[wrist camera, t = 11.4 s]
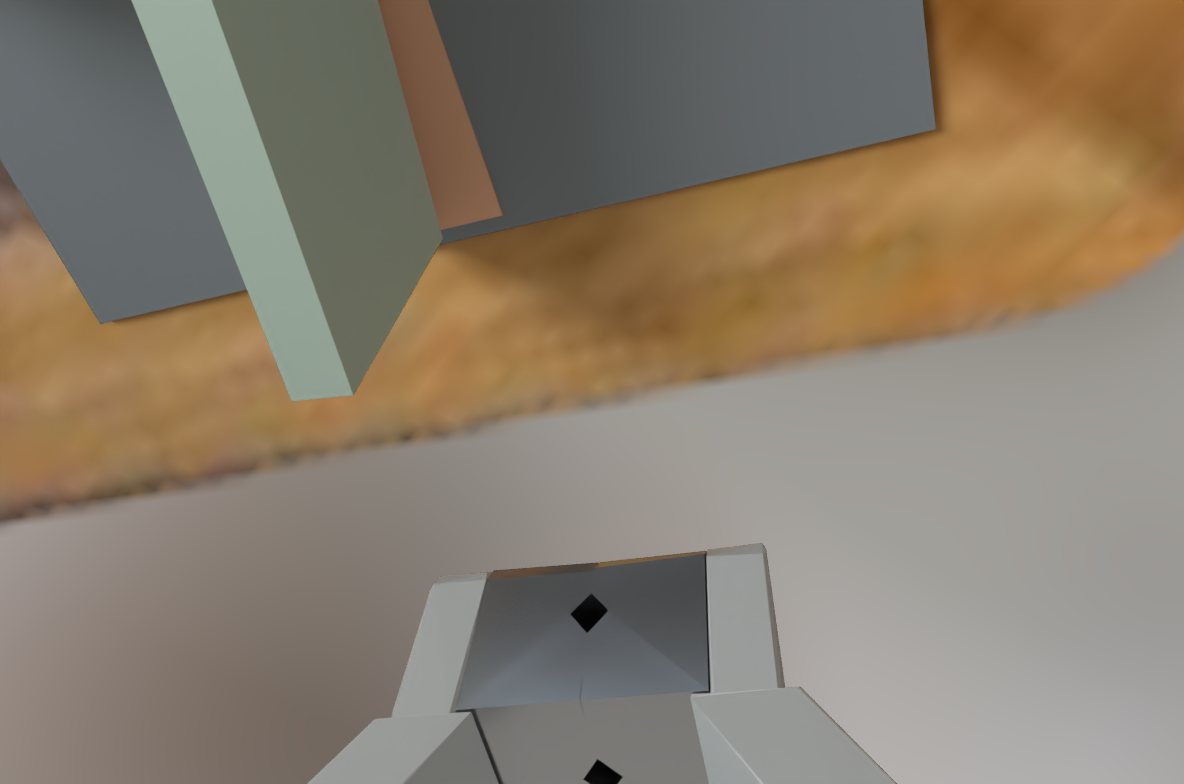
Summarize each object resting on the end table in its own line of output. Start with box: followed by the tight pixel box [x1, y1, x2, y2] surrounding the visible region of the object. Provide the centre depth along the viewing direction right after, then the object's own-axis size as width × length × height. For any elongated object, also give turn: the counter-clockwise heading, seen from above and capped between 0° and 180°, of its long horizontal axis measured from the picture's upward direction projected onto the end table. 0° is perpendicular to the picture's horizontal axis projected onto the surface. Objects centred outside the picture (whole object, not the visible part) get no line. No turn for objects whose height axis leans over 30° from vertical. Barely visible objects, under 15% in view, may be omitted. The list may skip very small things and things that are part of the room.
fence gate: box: [131, 0, 443, 401], centre depth 18 cm, size 9×1×7 cm, turn 10°
